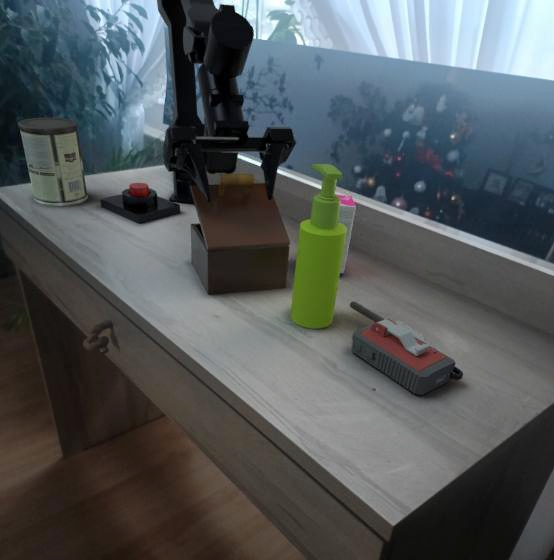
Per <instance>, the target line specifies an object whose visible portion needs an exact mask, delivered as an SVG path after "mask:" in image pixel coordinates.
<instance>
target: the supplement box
mask: <svg viewBox="0 0 554 560" xmlns="http://www.w3.org/2000/svg"><path fill="white" fill-rule="evenodd" d="M319 193H320V192H317V195H318V194H319ZM335 195H336V196H337V197H339V198H340V199H341V204H340V211H339V217H338V222H339V223H341V224H343V225H344V226H345V227H346V228H347V232H346V238H345V245H344V251H343V257H342V264H341V270H340V276H339V277H342V276H344V275H345V269H346V264H347V259H348V253H349V247H350V242H351V236H352V232H353V225H354V220H355V214H356V210H357V207H356V204H355V201H354V198H353V197H352V196H350V195H342V194H335Z"/></svg>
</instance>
